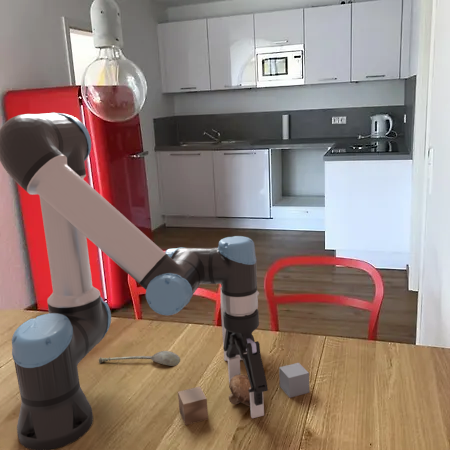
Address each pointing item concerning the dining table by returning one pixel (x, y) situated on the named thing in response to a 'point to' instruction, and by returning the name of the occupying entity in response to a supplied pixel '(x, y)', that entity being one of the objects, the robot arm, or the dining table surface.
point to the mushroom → (239, 390)
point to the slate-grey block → (294, 380)
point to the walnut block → (193, 405)
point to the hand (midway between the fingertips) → (245, 398)
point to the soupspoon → (153, 358)
